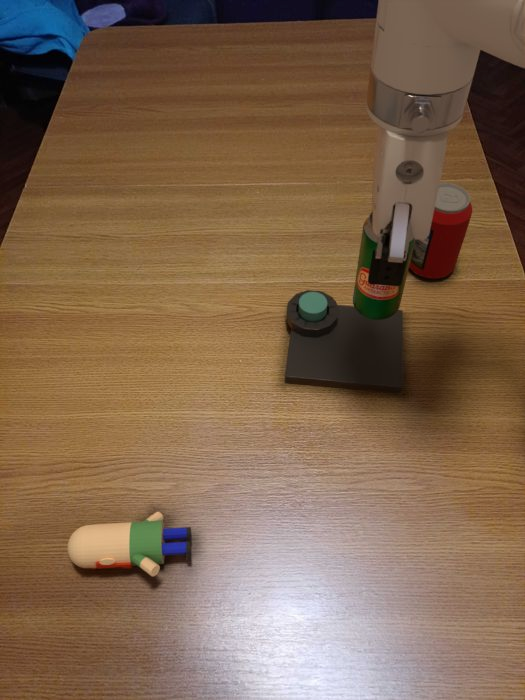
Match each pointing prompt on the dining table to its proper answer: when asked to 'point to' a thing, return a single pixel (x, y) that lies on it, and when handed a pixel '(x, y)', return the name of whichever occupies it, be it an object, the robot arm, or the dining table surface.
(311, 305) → the button
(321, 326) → the scale
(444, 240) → the beverage can
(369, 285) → the soda can
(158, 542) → the toy figurine
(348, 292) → the dining table surface
